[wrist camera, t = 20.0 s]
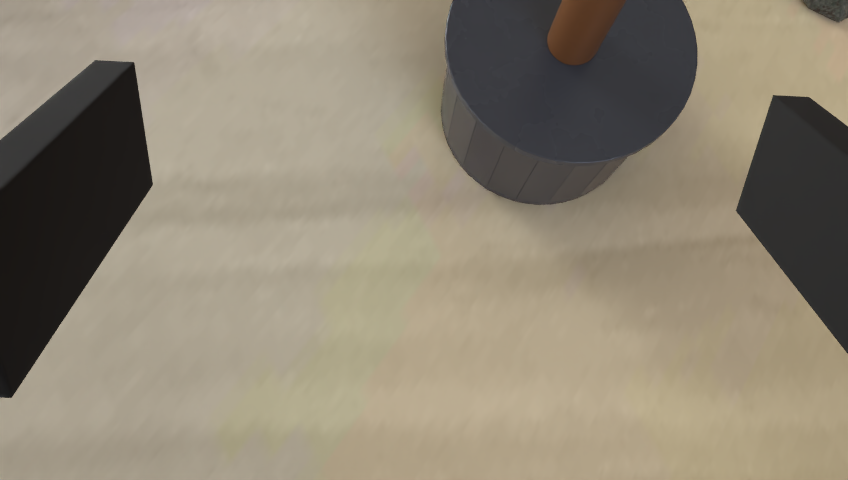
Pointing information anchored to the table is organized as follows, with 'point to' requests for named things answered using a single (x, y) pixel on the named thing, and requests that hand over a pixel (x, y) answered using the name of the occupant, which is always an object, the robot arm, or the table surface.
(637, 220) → the table surface
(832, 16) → the sword in stone
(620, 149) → the lid
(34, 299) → the robot arm
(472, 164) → the tin
